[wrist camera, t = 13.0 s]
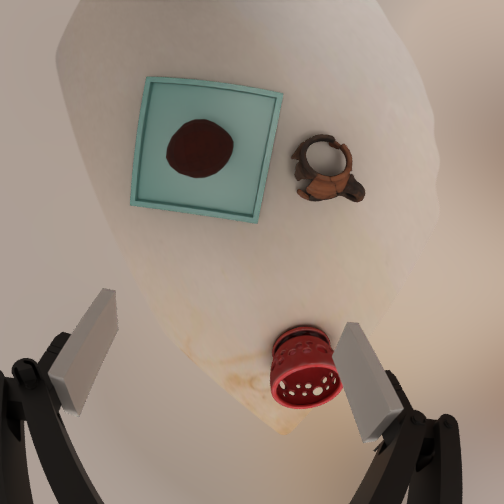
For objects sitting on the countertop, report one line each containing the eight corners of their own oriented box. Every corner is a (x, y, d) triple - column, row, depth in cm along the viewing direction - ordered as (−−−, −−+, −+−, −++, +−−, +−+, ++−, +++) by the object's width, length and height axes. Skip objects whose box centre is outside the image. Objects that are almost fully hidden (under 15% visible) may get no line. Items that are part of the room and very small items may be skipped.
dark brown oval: (238, 167, 41) (239, 174, 34) (177, 179, 42) (165, 190, 34) (228, 113, 38) (227, 110, 31) (166, 128, 38) (151, 128, 31)
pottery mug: (276, 190, 44) (283, 169, 36) (300, 143, 45) (310, 117, 37) (346, 225, 44) (366, 212, 36) (365, 176, 45) (385, 156, 37)
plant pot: (297, 308, 53) (311, 353, 42) (341, 338, 56) (359, 380, 45) (252, 351, 56) (255, 396, 45) (297, 375, 60) (307, 417, 49)
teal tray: (150, 78, 35) (146, 76, 34) (281, 95, 38) (283, 93, 36) (134, 202, 43) (129, 205, 41) (256, 219, 45) (257, 223, 43)
